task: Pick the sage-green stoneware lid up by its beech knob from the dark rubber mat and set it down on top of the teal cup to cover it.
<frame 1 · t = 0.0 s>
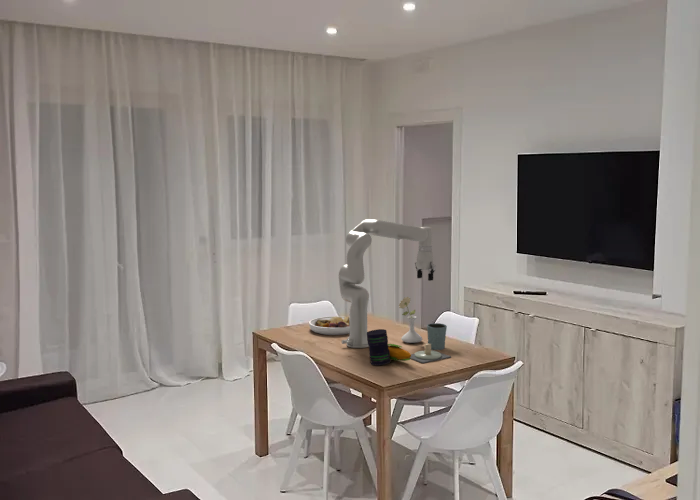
hand: (425, 279, 372), 31 cm above the table, tool pointing down, fingers open, 9 cm apart
storage jar: (380, 362, 318), on the table, touching corn
flower in vase: (410, 342, 357), on the table
corn: (396, 360, 320), point 1 cm above the table, touching storage jar
mat: (427, 357, 328), on the table
bowl: (334, 330, 386), on the table
teal cup: (436, 348, 345), on the table
lid: (427, 356, 328), point 1 cm above the table, touching mat
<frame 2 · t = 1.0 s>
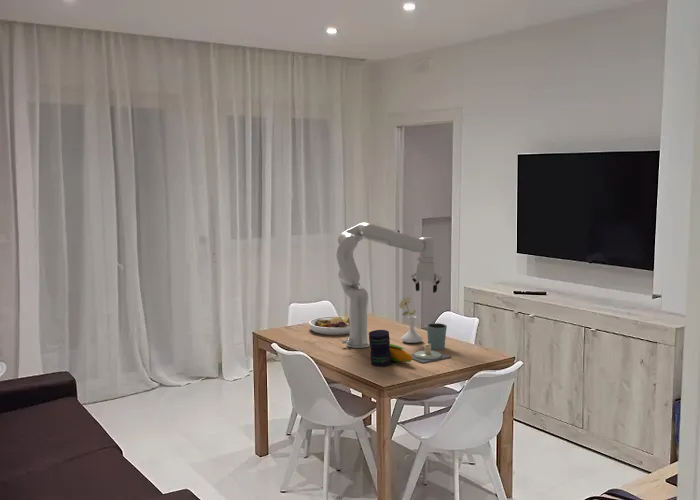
hand: (426, 291, 357), 27 cm above the table, tool pointing down, fingers open, 9 cm apart
storage jar: (381, 363, 317), on the table, touching corn
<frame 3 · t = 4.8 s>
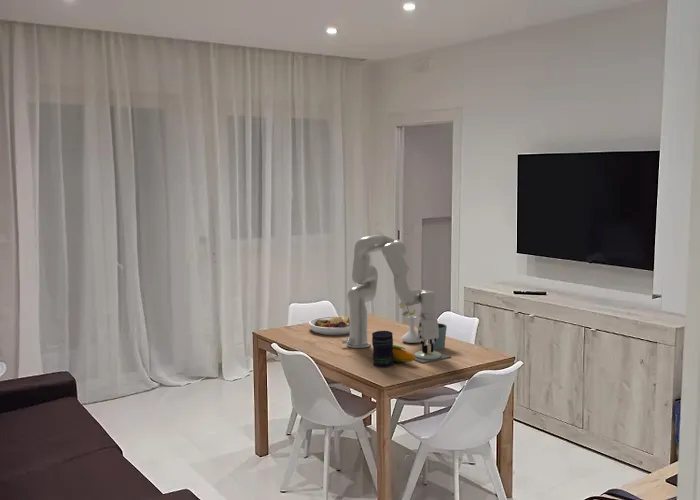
hand: (427, 352, 328), 3 cm above the table, tool pointing down, fingers closed on lid, 3 cm apart
storage jar: (383, 364, 316), on the table, touching corn
corn: (397, 361, 320), on the table, touching storage jar
lid: (427, 355, 328), point 1 cm above the table, touching gripper, mat
everything else where it was.
when the fingers open (15 cm above the table, at t = 8.2 s): lid stays where it is, resting on teal cup.
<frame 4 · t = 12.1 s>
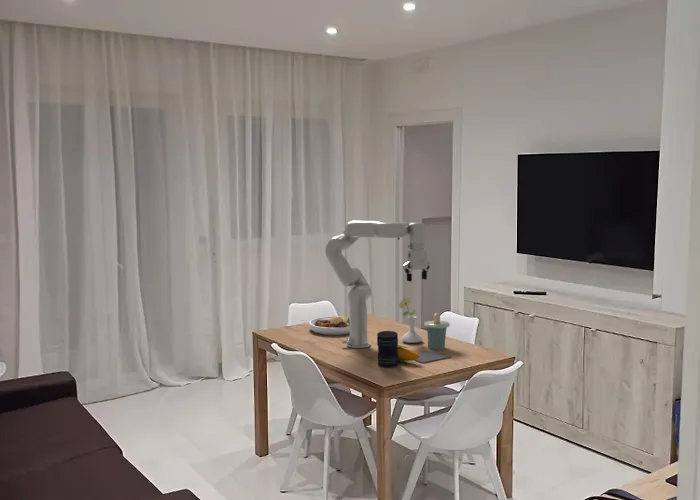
hand: (416, 280, 338), 36 cm above the table, tool pointing down, fingers open, 9 cm apart
storage jar: (388, 364, 316), on the table, touching corn
corn: (400, 361, 321), on the table, touching storage jar
teal cup: (436, 348, 345), on the table, touching lid
lid: (436, 325, 344), point 12 cm above the table, touching teal cup
everything else where it was.
at the end: lid inside the target area on the teal cup (0.0 cm from its centre), point 12.2 cm above the teal cup's base; lid tilted 0°; the gripper is holding nothing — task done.
